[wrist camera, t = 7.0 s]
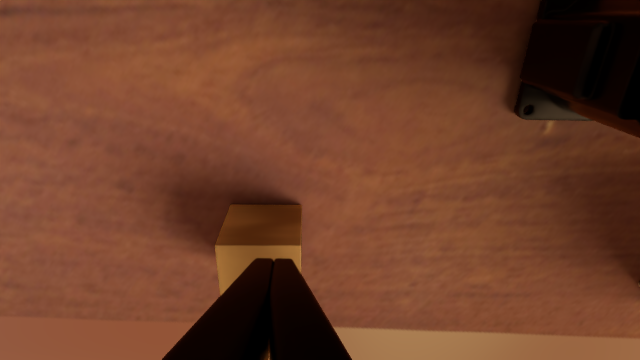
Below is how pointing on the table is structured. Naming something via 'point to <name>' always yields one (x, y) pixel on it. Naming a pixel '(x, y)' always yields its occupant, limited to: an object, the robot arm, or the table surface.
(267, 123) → the table surface
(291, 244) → the block
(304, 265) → the table surface
